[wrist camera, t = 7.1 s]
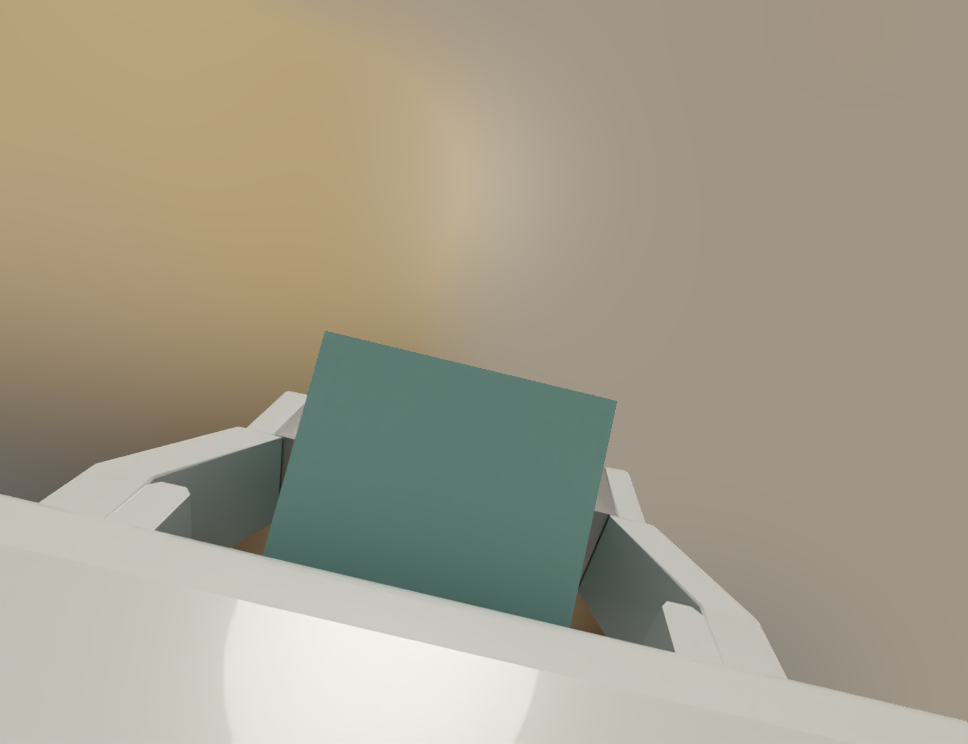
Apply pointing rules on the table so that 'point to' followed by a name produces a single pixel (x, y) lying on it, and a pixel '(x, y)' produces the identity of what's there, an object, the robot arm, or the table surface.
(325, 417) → the teal block
